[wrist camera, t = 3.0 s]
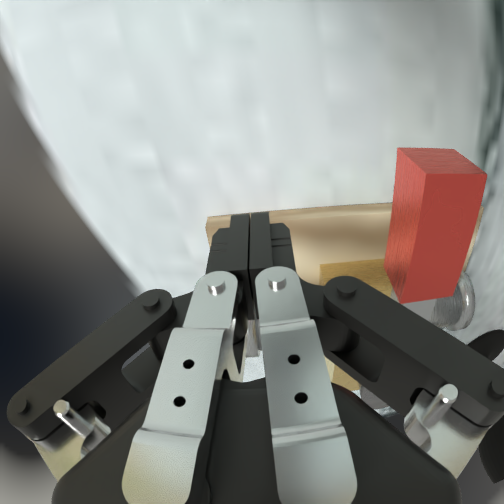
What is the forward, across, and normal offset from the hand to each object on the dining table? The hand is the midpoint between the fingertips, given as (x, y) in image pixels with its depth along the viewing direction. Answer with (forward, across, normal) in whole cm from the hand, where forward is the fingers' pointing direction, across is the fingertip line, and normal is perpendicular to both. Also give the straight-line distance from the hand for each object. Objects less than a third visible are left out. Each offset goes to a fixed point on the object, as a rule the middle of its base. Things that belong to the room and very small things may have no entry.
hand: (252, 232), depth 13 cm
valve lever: (+1, -7, +5) cm, 9 cm away
